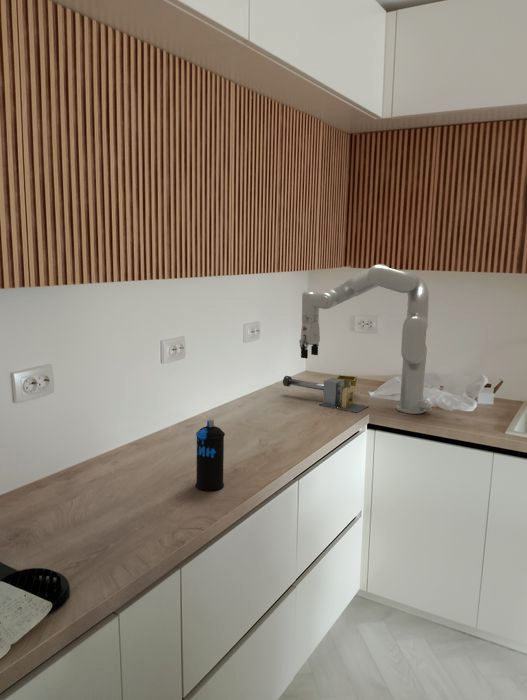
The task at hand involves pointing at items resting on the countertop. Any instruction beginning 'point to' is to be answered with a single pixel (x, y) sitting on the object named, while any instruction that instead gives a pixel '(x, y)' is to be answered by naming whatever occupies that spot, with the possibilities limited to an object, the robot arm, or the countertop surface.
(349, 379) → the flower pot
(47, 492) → the countertop surface
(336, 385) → the block
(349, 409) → the mat
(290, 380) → the shaft
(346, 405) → the gold bearing plate
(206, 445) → the aerosol can
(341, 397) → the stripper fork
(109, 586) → the countertop surface
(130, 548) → the countertop surface
